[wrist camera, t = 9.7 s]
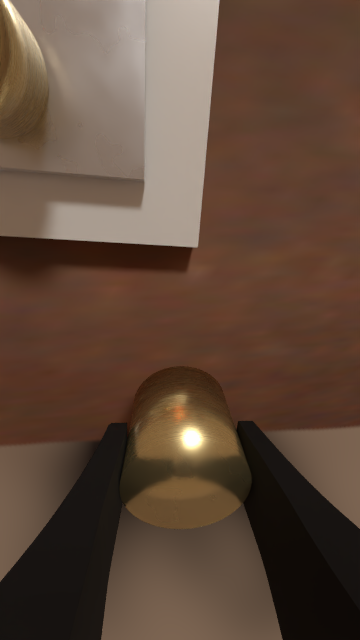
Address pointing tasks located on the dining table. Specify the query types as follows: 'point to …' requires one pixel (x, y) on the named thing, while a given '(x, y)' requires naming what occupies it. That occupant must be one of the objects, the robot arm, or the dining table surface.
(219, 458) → the brass weight
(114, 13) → the scale pan
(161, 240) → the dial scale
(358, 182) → the dining table surface
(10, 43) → the brass weight
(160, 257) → the dining table surface
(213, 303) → the dining table surface
